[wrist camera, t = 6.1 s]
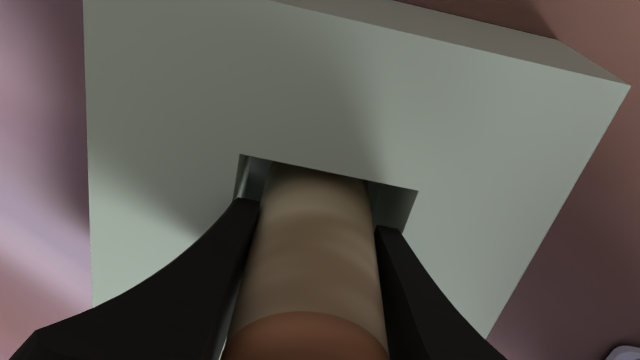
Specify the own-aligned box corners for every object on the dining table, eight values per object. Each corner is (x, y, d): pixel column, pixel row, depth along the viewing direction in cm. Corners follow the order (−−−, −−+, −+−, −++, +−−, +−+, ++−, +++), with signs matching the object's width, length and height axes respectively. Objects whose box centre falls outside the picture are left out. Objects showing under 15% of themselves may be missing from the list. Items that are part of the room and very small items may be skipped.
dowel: (384, 158, 15) (429, 378, 8) (345, 237, 16) (353, 482, 9) (284, 123, 14) (237, 326, 7) (254, 208, 16) (191, 443, 9)
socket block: (559, 40, 14) (631, 85, 11) (426, 322, 20) (444, 410, 17) (148, -59, 13) (81, -45, 10) (137, 269, 19) (94, 351, 16)
